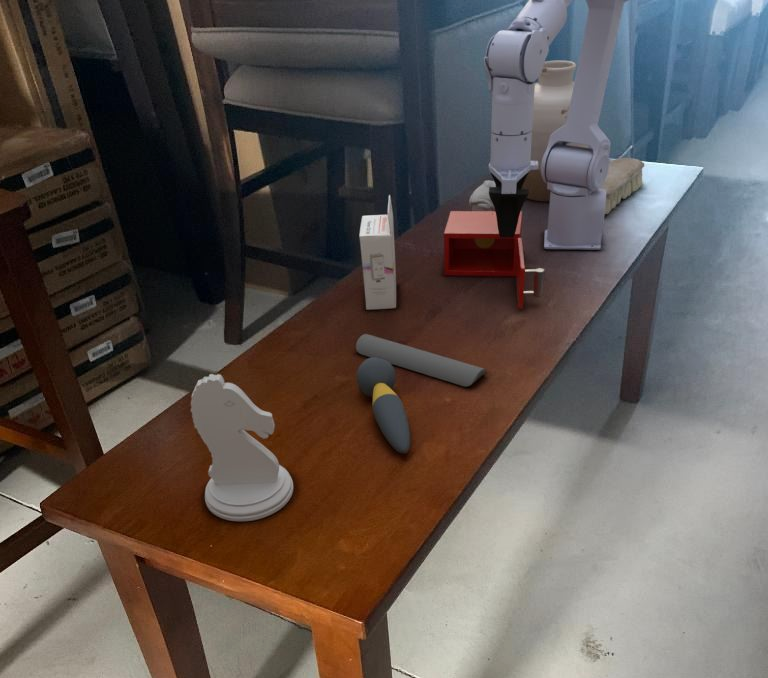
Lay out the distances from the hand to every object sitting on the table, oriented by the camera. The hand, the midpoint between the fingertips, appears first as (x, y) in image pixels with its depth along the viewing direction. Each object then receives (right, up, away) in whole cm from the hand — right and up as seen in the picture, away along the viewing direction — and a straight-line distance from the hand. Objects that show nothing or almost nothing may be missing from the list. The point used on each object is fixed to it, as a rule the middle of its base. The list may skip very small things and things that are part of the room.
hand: (507, 227), depth 117 cm
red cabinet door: (+4, -9, +3) cm, 10 cm away
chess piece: (-34, -41, -31) cm, 62 cm away
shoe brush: (+25, +18, +33) cm, 45 cm away
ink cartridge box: (-19, -9, +5) cm, 22 cm away
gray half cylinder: (-14, -23, -11) cm, 29 cm away
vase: (+14, +21, +38) cm, 45 cm away
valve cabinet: (-2, -1, +13) cm, 13 cm away
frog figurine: (+1, +12, +28) cm, 31 cm away
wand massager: (-18, -31, -20) cm, 41 cm away
